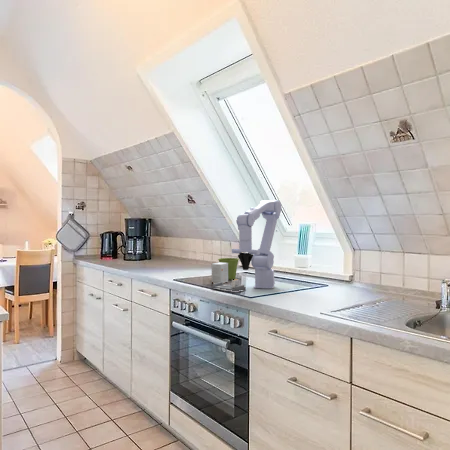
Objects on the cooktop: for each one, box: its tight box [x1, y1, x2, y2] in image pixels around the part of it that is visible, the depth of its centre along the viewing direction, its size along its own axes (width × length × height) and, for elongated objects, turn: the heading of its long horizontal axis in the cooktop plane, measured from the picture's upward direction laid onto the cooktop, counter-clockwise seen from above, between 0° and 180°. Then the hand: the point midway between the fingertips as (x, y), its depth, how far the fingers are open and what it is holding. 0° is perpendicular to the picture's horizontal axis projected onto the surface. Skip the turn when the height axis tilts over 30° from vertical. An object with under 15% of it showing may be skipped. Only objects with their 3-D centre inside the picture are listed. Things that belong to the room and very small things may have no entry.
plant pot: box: [217, 257, 240, 281], centre depth 230 cm, size 12×12×11 cm
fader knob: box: [231, 278, 240, 288], centre depth 195 cm, size 2×3×4 cm, turn 142°
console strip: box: [211, 282, 247, 291], centre depth 197 cm, size 14×8×3 cm, turn 52°
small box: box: [211, 261, 229, 283], centre depth 216 cm, size 8×6×10 cm
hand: (245, 269), depth 191 cm, fingers closed
